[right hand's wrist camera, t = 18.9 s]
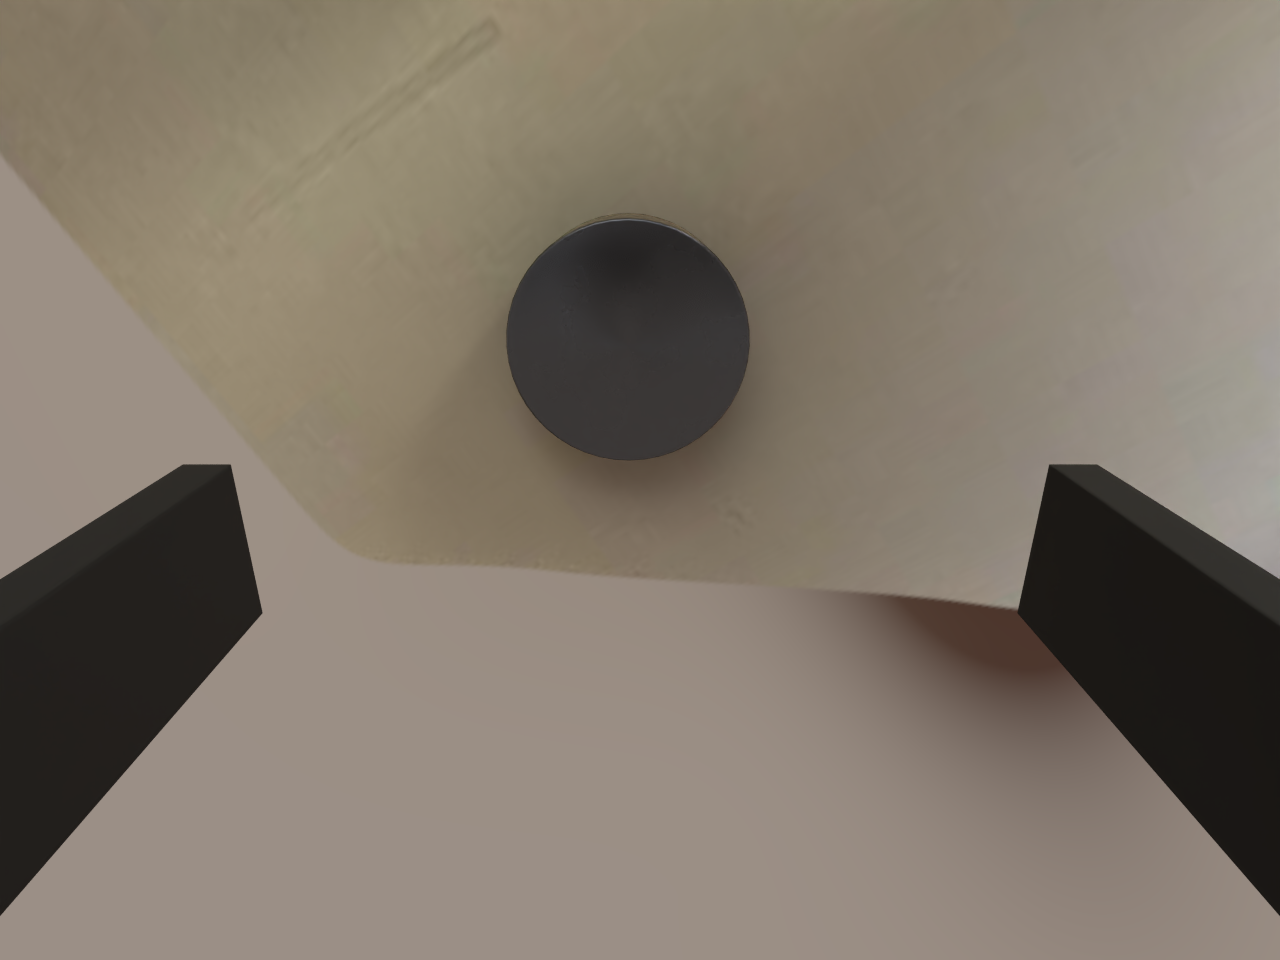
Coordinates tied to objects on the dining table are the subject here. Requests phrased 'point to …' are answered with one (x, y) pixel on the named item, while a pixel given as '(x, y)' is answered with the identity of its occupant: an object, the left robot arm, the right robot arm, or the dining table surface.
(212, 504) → the right robot arm
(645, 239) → the canister lid
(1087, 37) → the dining table surface
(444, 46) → the dining table surface
